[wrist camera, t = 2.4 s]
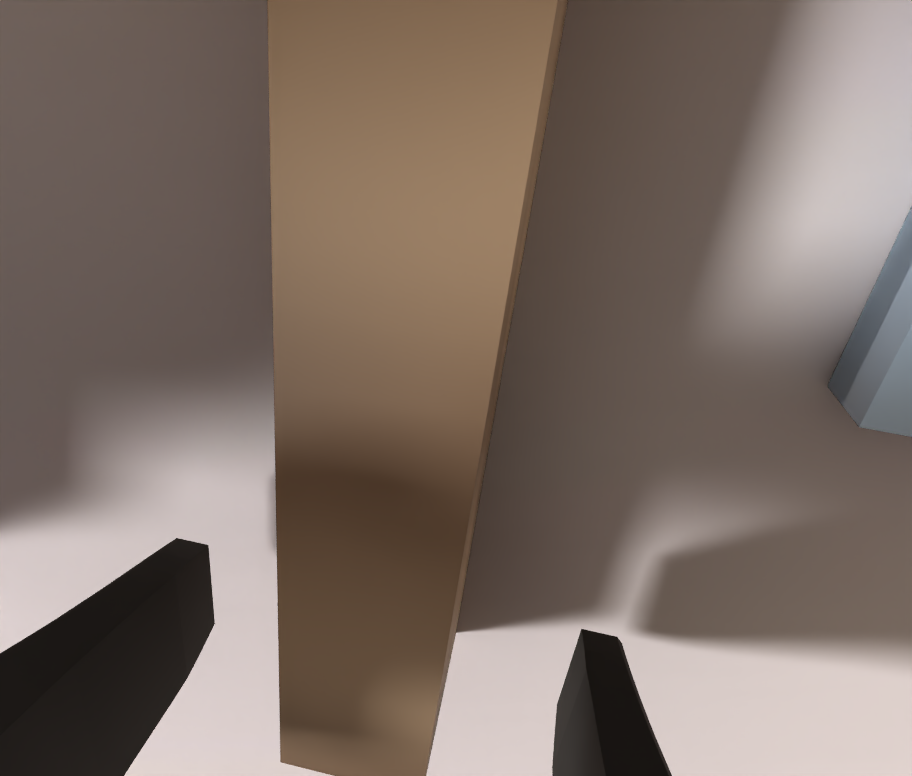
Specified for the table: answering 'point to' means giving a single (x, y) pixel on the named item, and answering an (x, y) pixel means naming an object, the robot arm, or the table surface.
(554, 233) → the table surface
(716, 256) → the table surface
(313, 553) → the push rod
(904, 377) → the tray
